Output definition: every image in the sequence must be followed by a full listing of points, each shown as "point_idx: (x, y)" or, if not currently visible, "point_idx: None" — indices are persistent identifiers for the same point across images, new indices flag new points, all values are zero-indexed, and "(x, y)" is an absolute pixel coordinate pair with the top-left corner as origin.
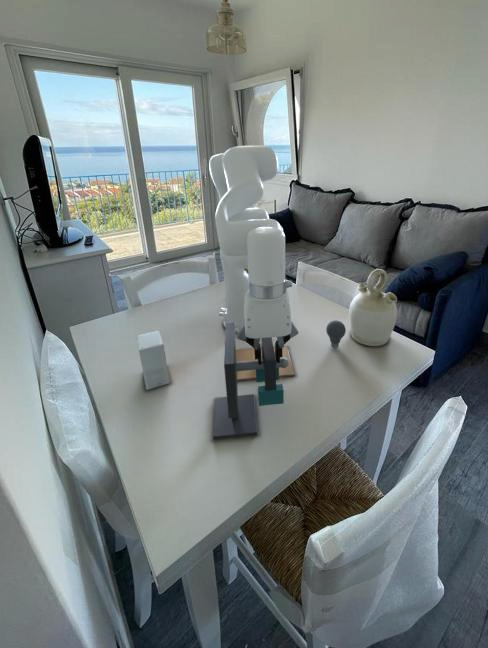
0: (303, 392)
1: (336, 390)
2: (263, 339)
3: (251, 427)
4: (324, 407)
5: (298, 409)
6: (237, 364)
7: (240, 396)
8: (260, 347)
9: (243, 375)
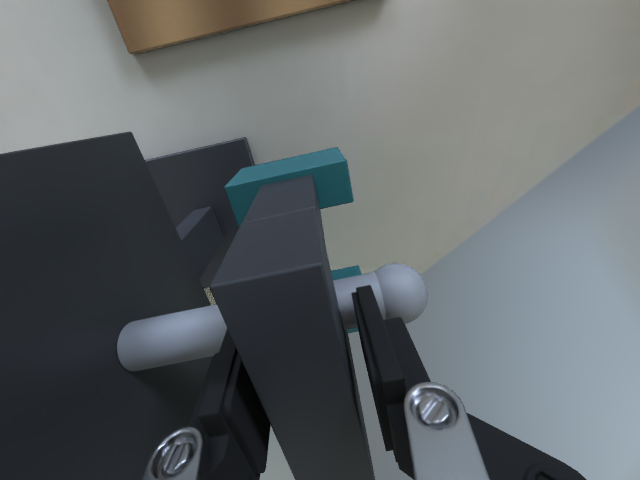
0: (415, 97)
1: (533, 76)
2: (246, 329)
3: None
4: (469, 161)
5: (390, 176)
6: (137, 369)
7: (201, 154)
8: (250, 456)
9: (168, 17)
